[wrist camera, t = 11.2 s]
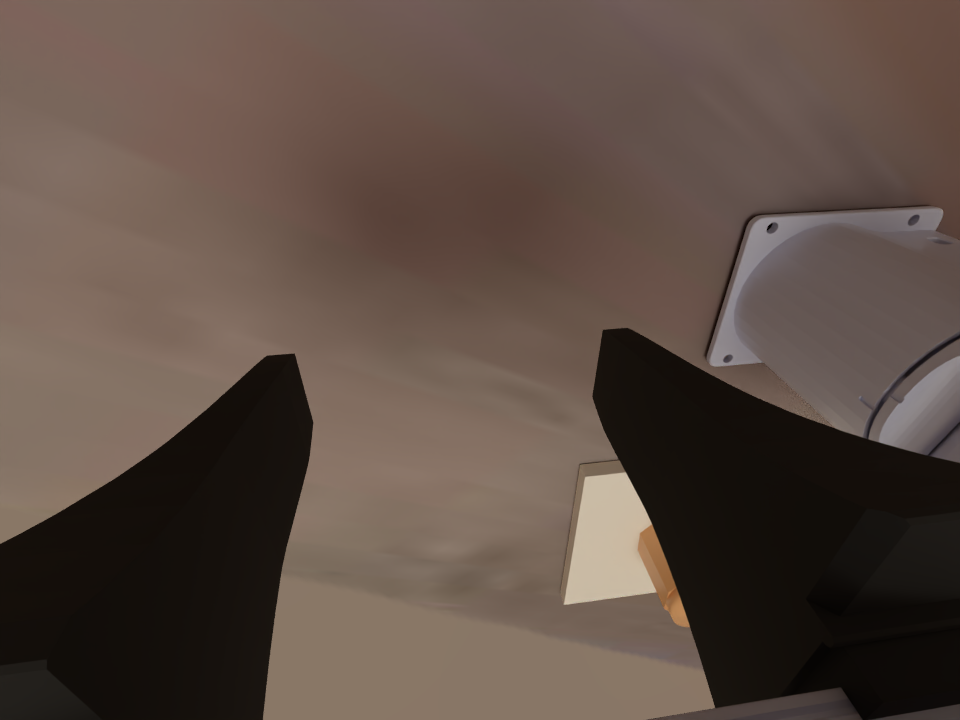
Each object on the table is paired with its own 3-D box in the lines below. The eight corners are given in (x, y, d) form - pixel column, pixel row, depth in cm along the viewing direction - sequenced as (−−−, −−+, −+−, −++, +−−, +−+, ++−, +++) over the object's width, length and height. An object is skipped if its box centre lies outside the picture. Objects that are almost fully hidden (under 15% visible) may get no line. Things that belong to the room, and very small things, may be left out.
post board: (792, 441, 31) (849, 501, 27) (730, 569, 39) (767, 630, 35) (580, 464, 29) (607, 531, 25) (560, 592, 37) (579, 658, 33)
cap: (677, 505, 31) (719, 576, 27) (716, 527, 33) (760, 596, 29) (625, 544, 33) (656, 616, 29) (665, 563, 35) (700, 633, 31)
